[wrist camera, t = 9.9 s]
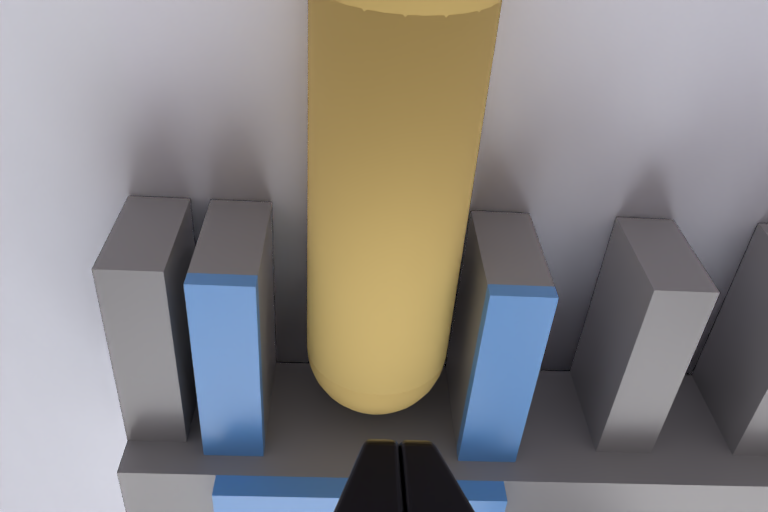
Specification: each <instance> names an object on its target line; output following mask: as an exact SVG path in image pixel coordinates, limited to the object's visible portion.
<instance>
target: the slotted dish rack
mask: <svg viewBox="0 0 768 512" xmlns="http://www.w3.org/2000/svg"><path fill="white" fill-rule="evenodd" d="M92 273H93V278H94V282H95V287H96V292H97V297H98V302H99V306H100V311H101V316H102V321H103V325H104V330H105V335H106V340H107V345H108V349H109V354H110V359H111V364H112V369H113V373H114V378H115V383H116V388H117V393H118V397H119V402H120V407H121V412H122V416H123V421H124V426H125V431H126V436H127V440H128V441H127V444H126V447H125V450H124V453H123V456H122V459H121V462H120V465H119V468H118V471H117V475H118V480H119V484H120V488H121V493H122V497H123V501H124V506H125V510H126V512H334V510H335V507H336V505H337V503H338V500H339V498H340V496H341V493H342V491H343V489H344V487H345V484H346V482H347V480H348V477H349V475H350V473H351V470H352V468H353V466H354V463H355V461H356V459H357V456H358V454H359V452H360V449H361V447H362V445H363V443H364V442H365V441H366V440H368V439H387V440H395V441H397V443H398V444H400V442H402V441H404V440H426V441H431V442H433V443H434V444H435V445H436V446H437V448H438V450H439V451H440V453H441V455H442V456H443V458H444V460H445V462H446V463H447V465H448V467H449V468H450V470H451V472H452V474H453V475H454V477H455V479H456V480H457V482H458V484H459V486H460V487H461V489H462V491H463V492H464V494H465V496H466V498H467V499H468V501H469V503H470V504H471V506H472V508H473V510H474V511H475V512H768V224H764V223H758V225H757V227H756V229H755V232H754V234H753V236H752V239H751V241H750V243H749V245H748V248H747V250H746V252H745V255H744V257H743V259H742V261H741V264H740V266H739V268H738V271H737V273H736V275H735V277H734V280H733V282H732V284H731V287H730V289H729V291H728V293H727V296H726V298H725V300H724V303H723V305H722V307H721V309H720V312H719V314H718V316H717V319H716V321H715V323H714V325H713V328H712V330H711V332H710V335H709V337H708V339H707V341H706V344H705V346H704V348H703V351H702V353H701V355H700V357H699V360H698V362H697V364H696V367H695V369H694V371H693V373H692V375H685V373H686V371H687V368H688V366H689V364H690V361H691V359H692V357H693V354H694V352H695V350H696V347H697V345H698V343H699V340H700V338H701V336H702V333H703V331H704V329H705V326H706V324H707V322H708V319H709V317H710V315H711V312H712V310H713V308H714V305H715V303H716V301H717V298H718V296H719V294H720V292H719V291H718V289H717V287H716V286H715V284H714V283H713V281H712V280H711V278H710V276H709V275H708V273H707V272H706V270H705V268H704V267H703V265H702V264H701V262H700V261H699V259H698V257H697V256H696V254H695V253H694V251H693V250H692V248H691V246H690V245H689V243H688V242H687V240H686V239H685V237H684V235H683V234H682V232H681V231H680V229H679V228H678V226H677V224H676V223H675V221H674V220H672V219H649V218H626V217H616V220H615V223H614V226H613V230H612V233H611V236H610V240H609V243H608V246H607V250H606V253H605V256H604V260H603V263H602V266H601V270H600V273H599V276H598V280H597V283H596V286H595V290H594V293H593V296H592V300H591V303H590V306H589V310H588V313H587V316H586V320H585V323H584V326H583V330H582V333H581V336H580V340H579V343H578V346H577V350H576V353H575V356H574V360H573V363H572V366H571V370H570V371H540V367H541V363H542V360H543V356H544V352H545V348H546V345H547V341H548V337H549V333H550V330H551V326H552V322H553V318H554V314H555V311H556V307H557V303H558V299H559V297H558V294H557V291H556V288H555V285H554V283H553V280H552V277H551V274H550V271H549V268H548V265H547V262H546V259H545V257H544V254H543V251H542V248H541V245H540V242H539V239H538V236H537V233H536V231H535V228H534V225H533V222H532V219H531V216H530V213H511V212H488V211H471V214H470V220H469V226H468V232H467V239H466V245H465V251H464V257H463V264H462V270H461V276H460V282H459V288H458V295H457V301H456V307H455V313H454V319H453V326H452V332H451V338H450V344H449V350H448V357H447V363H446V368H443V369H442V371H441V374H440V376H439V378H438V379H437V381H436V383H435V384H434V386H433V387H432V388H431V390H430V391H429V392H428V393H427V394H426V395H425V396H423V397H422V398H421V399H420V400H419V401H417V402H416V403H415V404H413V405H411V406H410V407H408V408H406V409H403V410H400V411H397V412H394V413H388V414H382V415H372V414H365V413H360V412H357V411H354V410H351V409H349V408H347V407H345V406H343V405H341V404H339V403H338V402H336V401H335V400H334V399H332V398H331V397H330V396H329V395H328V394H327V392H326V391H325V390H324V389H323V388H322V387H321V386H320V385H319V383H318V381H317V379H316V378H315V376H314V373H313V371H312V369H311V366H310V363H278V362H276V342H275V305H274V268H273V231H272V202H258V201H235V200H212V199H211V200H210V203H209V206H208V209H207V212H206V216H205V219H204V222H203V225H202V228H201V231H200V234H199V237H198V241H197V244H196V247H195V241H194V231H193V221H192V211H191V202H190V199H189V198H166V197H143V196H128V197H127V199H126V201H125V203H124V205H123V207H122V209H121V211H120V213H119V215H118V218H117V220H116V222H115V224H114V226H113V228H112V230H111V232H110V234H109V236H108V238H107V240H106V242H105V244H104V246H103V248H102V250H101V252H100V254H99V256H98V258H97V260H96V262H95V264H94V266H93V268H92Z"/></svg>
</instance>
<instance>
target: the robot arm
mask: <svg viewBox="0 0 768 512" xmlns="http://www.w3.org/2000/svg"><path fill="white" fill-rule="evenodd" d="M334 512H475V511H474V510H473V508H472V506H471V504H470V503H469V501H468V499H467V498H466V496H465V494H464V492H463V491H462V489H461V487H460V486H459V484H458V482H457V480H456V479H455V477H454V475H453V474H452V472H451V470H450V468H449V467H448V465H447V463H446V462H445V460H444V458H443V456H442V455H441V453H440V451H439V450H438V448H437V446H436V445H435V444H434V443H433V442H431V441H426V440H404V441H402V442H400V444H398V443H397V441H395V440H387V439H368V440H366V441H365V442H364V443H363V445H362V447H361V449H360V452H359V454H358V456H357V459H356V461H355V463H354V466H353V468H352V470H351V473H350V475H349V477H348V480H347V482H346V484H345V487H344V489H343V491H342V493H341V496H340V498H339V500H338V503H337V505H336V507H335V510H334Z"/></svg>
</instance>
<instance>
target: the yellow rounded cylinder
mask: <svg viewBox="0 0 768 512" xmlns="http://www.w3.org/2000/svg"><path fill="white" fill-rule="evenodd" d="M501 4H502V0H308V181H307V351H308V358H309V362H310V366H311V369H312V371H313V373H314V376H315V378H316V379H317V381H318V383H319V385H320V386H321V387H322V388H323V389H324V390H325V391H326V392H327V394H328V395H329V396H330V397H331V398H332V399H334V400H335V401H336V402H338V403H339V404H341V405H343V406H345V407H347V408H349V409H351V410H354V411H357V412H360V413H365V414H372V415H382V414H388V413H394V412H397V411H400V410H403V409H406V408H408V407H410V406H411V405H413V404H415V403H416V402H417V401H419V400H420V399H421V398H422V397H423V396H425V395H426V394H427V393H428V392H429V391H430V390H431V388H432V387H433V386H434V384H435V383H436V381H437V379H438V378H439V376H440V374H441V371H442V369H443V366H444V363H445V359H446V355H447V348H448V342H449V335H450V329H451V323H452V316H453V310H454V304H455V297H456V291H457V284H458V278H459V272H460V265H461V259H462V253H463V246H464V240H465V233H466V227H467V221H468V214H469V208H470V202H471V195H472V189H473V182H474V176H475V170H476V163H477V157H478V151H479V144H480V138H481V131H482V125H483V119H484V112H485V106H486V99H487V93H488V87H489V80H490V74H491V68H492V61H493V55H494V48H495V42H496V36H497V29H498V23H499V17H500V10H501Z"/></svg>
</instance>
